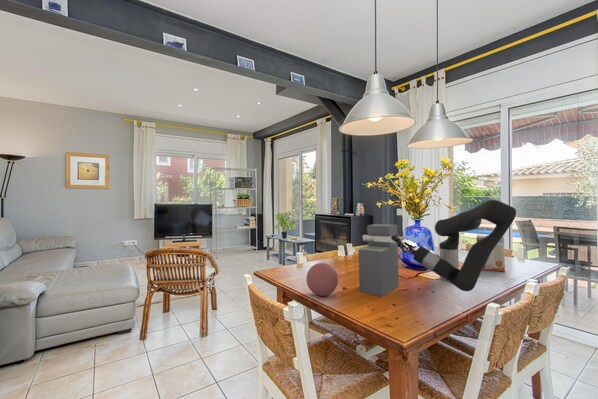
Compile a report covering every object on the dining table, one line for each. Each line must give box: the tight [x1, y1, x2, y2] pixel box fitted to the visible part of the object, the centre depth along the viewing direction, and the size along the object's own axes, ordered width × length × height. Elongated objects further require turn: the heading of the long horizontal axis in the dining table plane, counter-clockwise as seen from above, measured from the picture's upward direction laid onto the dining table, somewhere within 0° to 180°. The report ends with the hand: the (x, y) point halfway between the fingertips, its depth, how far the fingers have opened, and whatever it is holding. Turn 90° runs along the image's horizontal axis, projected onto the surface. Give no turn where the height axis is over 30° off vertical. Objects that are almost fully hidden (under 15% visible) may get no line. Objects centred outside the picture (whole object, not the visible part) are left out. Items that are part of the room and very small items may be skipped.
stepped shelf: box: [357, 223, 400, 298], centre depth 144 cm, size 20×12×32 cm, turn 140°
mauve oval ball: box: [305, 262, 339, 297], centre depth 139 cm, size 15×20×15 cm
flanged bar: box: [362, 234, 406, 243], centre depth 137 cm, size 6×21×2 cm, turn 50°
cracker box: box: [476, 234, 506, 273], centre depth 175 cm, size 14×6×21 cm, turn 58°
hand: (393, 236), depth 134 cm, fingers closed on flanged bar, 2 cm apart
